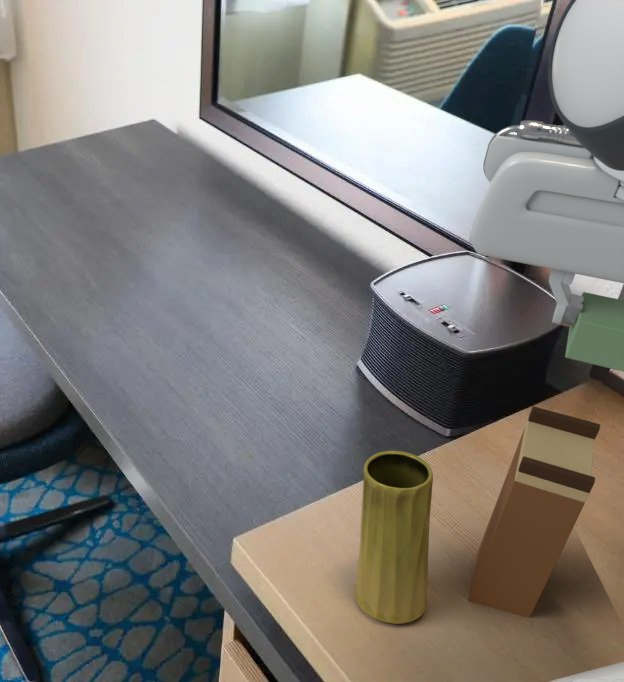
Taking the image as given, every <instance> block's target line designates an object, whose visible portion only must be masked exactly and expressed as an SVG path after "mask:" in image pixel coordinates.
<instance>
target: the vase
mask: <svg viewBox="0 0 624 682" xmlns="http://www.w3.org/2000/svg"><path fill="white" fill-rule="evenodd" d="M362 470H363V471H362V475H363V476H362V477H363V478H362V480H363V482H362V499H361V516H360V519H361V520H360V533H359V534H360V535H359V536H360V537H359V551H358V560H357V572H356V583H355V585H354V590H353V591H354V592H353V594H354V599H355V601H356V603H357V605H358V606H359V608H360V609H361V610H362V611H363V612H364V613H365V614H367V615H368V616H370V617H371V618H373V619H375V620H377V621H380V622H384V623H388V624H393V625H394V624H395V625H397V624H407V623H411V622H413V621H414V622H415V620H417V619H419V618H420V617H421V616H422V615H423V614H424V613H425V611H426V609H427V605H428V601H429V598H428V580H429V579H428V575H429V543H430V523H431V521H430V520H431V509H432V507H431V506H432V505H431V504H432V498H433V497H432V494H433V483H434V473H433V469H432V468H431V466H430V464H429V462H427V461H426V460H424V459H423V458H422V457H420V456H418V455H416V454H413V453H410V452H407V451H401V450H385V451H379V452H376V453H375V454H373V455H371V456H370V457H369V458H367V460H366V461H365V463H364V465H363V469H362Z"/></svg>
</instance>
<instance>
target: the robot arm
mask: <svg viewBox="0 0 624 682" xmlns="http://www.w3.org/2000/svg"><path fill="white" fill-rule="evenodd" d="M547 83H548V90H549V95H550V99H551V102H552V105H553V108H554V111H555V112H556V114H557V117H559V119H560V120H561V122H562V125H560V124H558V125H556V124H549V123H545V122H544V121H540V120H521V121H520V123H519V124H516V125H509V126H507V127H504V128H502V129H500V130H499V131H497V132H496V133H495V134H494V135H493V136H492V137H491V139H490V140H489V142H488V144H487V149H486V152H485V156H484V160H483V167H482V168H483V173H484V176H485V178H486V179H487V180H488V181H489V183H488V185H487V187H486V190H485V192H484V194H483V196H482V199H481V201H480V204H479V207H478V209H477V212H476V215H475V218H474V222H473V224H472V227H471V230H470V234H469V236H468V237H469V238H468V241H469V242H470V244H471V246H472V248H473V249H474V251H475V252H476V254H478V255H481V256H484V257H490V258H496V259H500V260H505V261H509V262H515V263H520V264H524V265H530V266H535V267H539V268H543V269H544V268H545V269H550V271H549V277H548V284H549V286H550V289H551V292H552V294H553V297H554V300H555V302H556V305H555V308H554V312H553V315H552V320H551V323H552V324H556V325H560V326H564V327H569V328H570V327H573V328H574V327H575V325H576V322H577V318H578V317H579V314H580V313H581V312H582V308H583V301H584V297H583V296H582V295H580V294H579V295H578V294H574V293H572V291H571V287H570V285H572V283H573V281H574V279H575V276H576V275H580V276H586V277H589V278H594V279H598V280H604V281H611V282H615V283H619V284H620V283H621V284H624V0H570V1H569V3H568V5H566V7H565V9H564V11H563V13H562V15H561V17H560V19H559V22H558V24H557V26H556V29H555V31H554V34H553V38H552V41H551V46H550V50H549V56H548V65H547ZM512 133H513V134H512ZM514 133H516V134H514ZM548 682H624V661H620V662H617V663H613V664H609V665H604V666H602V667H598V668H594V669H590V670H586V671H582V672H579V673H575V674H572V675H568V676H564V677H560V678H556V679H553V680H549V681H548Z"/></svg>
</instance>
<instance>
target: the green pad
mask: <svg viewBox="0 0 624 682" xmlns="http://www.w3.org/2000/svg"><path fill="white" fill-rule="evenodd" d="M581 296H583V297H584V301H583V308H582V312H581V313H580V314H579V317H578V318H577V322H576V325H575V327H574V328H573V327H569V328H568V335H567V341H566V348H565V354H564V357H565V358H566V359H569V360H574V361H578V362H582V363H587V364H590V365H594V366H599V367H603V368H607V369H611V370H615V371H619V372H623V373H624V300H623V299H619V298H615V297H609V296H604V295H600V294H595V293H591V292H586V291H584V292H582V293H581Z"/></svg>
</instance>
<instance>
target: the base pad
mask: <svg viewBox="0 0 624 682" xmlns="http://www.w3.org/2000/svg"><path fill="white" fill-rule="evenodd" d="M524 425H525V426H524V428H523V431H522V433H521V436H520V439H519V442H518V444H517V447H516V450H515V452H514V455H513V457H512V459H511V463H510V465H509V467H508V470H507V473H506V476H505V478H504V481H503V484H502V486H501V489H500V492H499V494H498V497H497V500H496V502H495V505H494V508H493V510H492V512H491V515H490V518H489V521H488V523H487V526H486V528H485V531H484V534H483V537H482V539H481V541H480V545H479V548H478V551H477V555H476V558H475V565H474V568H473V574H472V579H471V584H470V588H469V592H468V598H467V601H468V602H472V603H475V604H479V605H482V606H486V607H489V608H493V609H496V610H500V611H503V612H507V613H511V614H513V615H517V616H521V617H523V618H524V617H525V618H528V619H530V618H531V617H532V614H533V612H534V610H535V608H536V605H537V604H538V601H539V600H540V597H541V595H542V593H543V592H544V589H545V587H546V585H547V583H548V581H549V579H550V577H551V574H552V573H553V571H554V568H555V566H556V565H557V562H558V560H559V558H560V555H561V554H562V552H563V550H564V548H565V545H566V543H567V542H568V539H569V537H570V535H571V533H572V531H573V529H574V526H575V524H576V523H577V520H578V518H579V517H580V514H581V512H582V510H583V508H584V506H585V503H586V502H587V501H588V498H589V497H590V493H591V492H592V490H593V487H594V485H595V483H596V477H595V476H592V471H593V462H594V452H595V451H594V450H595V443H596V442H595V441H596V438H597V436H598V434H599V433H600V429H601V424H600V423H597V422H594V421H589V420H585V419H582V418H579V417H575V416H571V415H568V414H563V413H560V412H556V411H553V410H549V409H546V408H543V407H538V406H534V405H533V406H532V407H531V409H530V411H529V415H528V418H527V420H526V423H525V424H524Z"/></svg>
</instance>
